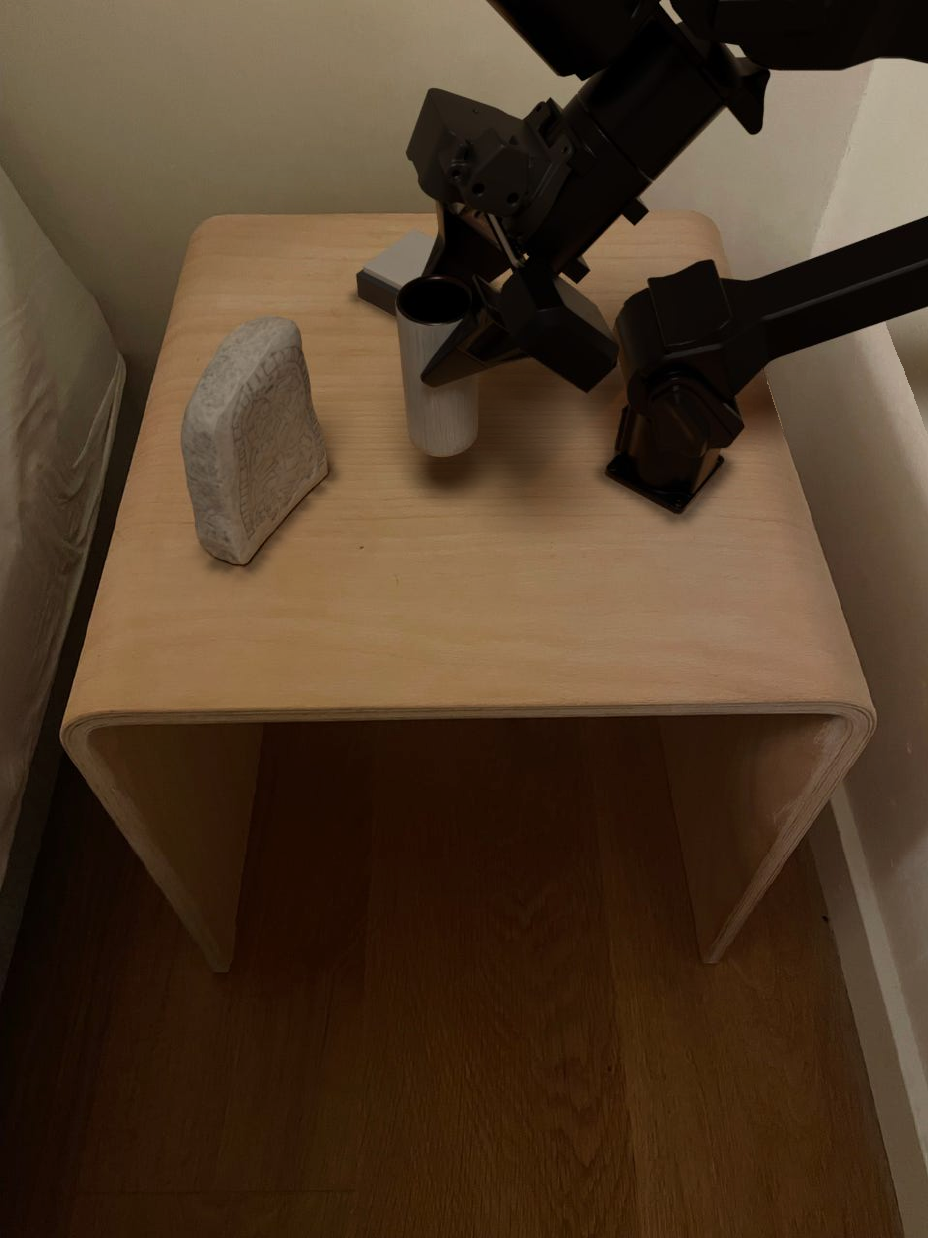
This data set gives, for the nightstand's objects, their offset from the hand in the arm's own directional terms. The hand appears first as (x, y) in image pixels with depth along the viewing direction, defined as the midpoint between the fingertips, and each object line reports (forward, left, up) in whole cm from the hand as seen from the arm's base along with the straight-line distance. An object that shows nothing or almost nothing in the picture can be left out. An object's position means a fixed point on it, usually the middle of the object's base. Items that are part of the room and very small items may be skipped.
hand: (415, 355), depth 53 cm
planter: (-1, -1, -7) cm, 7 cm away
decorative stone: (+8, +7, -14) cm, 18 cm away
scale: (+15, -19, -13) cm, 28 cm away
